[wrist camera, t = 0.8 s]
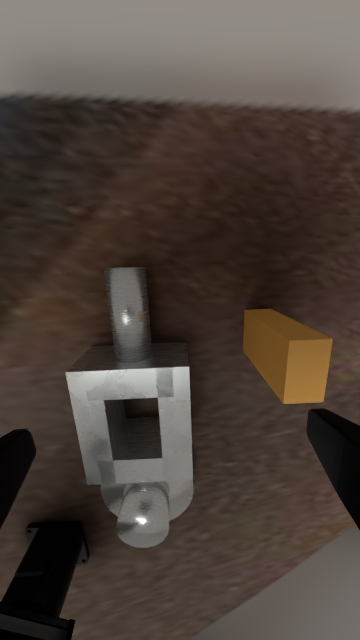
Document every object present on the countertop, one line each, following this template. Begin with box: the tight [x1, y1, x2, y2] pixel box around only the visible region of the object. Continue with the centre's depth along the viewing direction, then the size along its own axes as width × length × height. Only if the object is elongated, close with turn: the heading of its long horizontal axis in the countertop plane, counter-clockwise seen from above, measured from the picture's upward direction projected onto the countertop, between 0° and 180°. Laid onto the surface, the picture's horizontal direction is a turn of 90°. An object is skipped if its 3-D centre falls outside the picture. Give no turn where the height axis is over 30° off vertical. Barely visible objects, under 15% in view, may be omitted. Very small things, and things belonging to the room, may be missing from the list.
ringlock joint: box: [65, 267, 193, 548], centre depth 19 cm, size 26×9×6 cm, turn 2°
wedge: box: [243, 309, 333, 404], centre depth 16 cm, size 4×2×8 cm, turn 2°
